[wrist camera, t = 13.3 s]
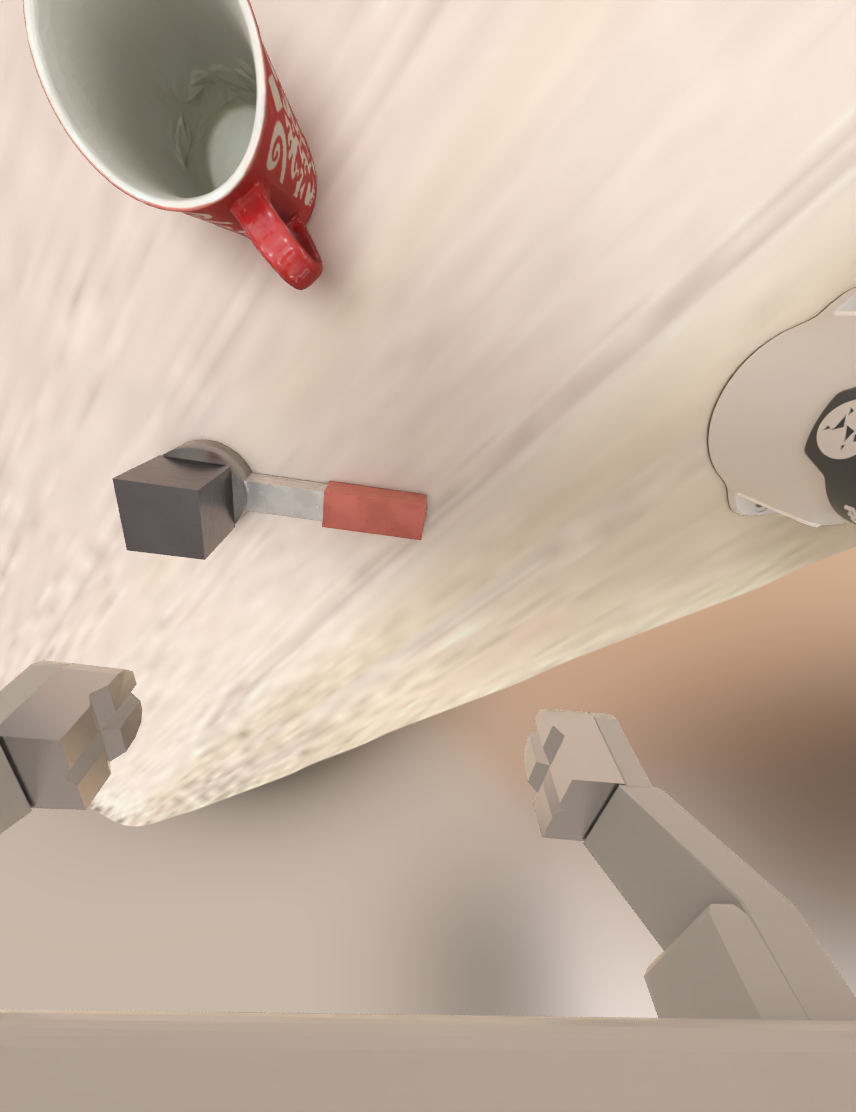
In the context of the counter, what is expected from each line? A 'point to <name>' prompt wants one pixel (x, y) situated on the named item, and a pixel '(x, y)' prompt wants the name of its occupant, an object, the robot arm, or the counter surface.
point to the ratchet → (314, 497)
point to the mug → (182, 115)
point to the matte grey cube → (175, 506)
